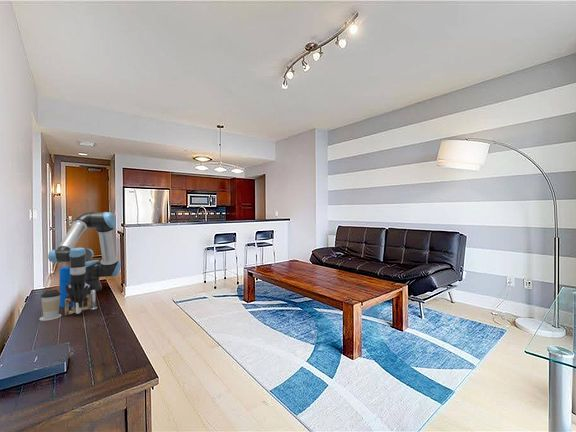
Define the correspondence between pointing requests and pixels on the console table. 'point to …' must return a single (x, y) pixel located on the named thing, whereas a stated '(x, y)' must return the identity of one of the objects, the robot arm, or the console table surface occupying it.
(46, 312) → the coffee cup
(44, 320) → the coaster
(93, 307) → the hinge post
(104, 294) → the console table surface
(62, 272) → the thermos
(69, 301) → the gate
